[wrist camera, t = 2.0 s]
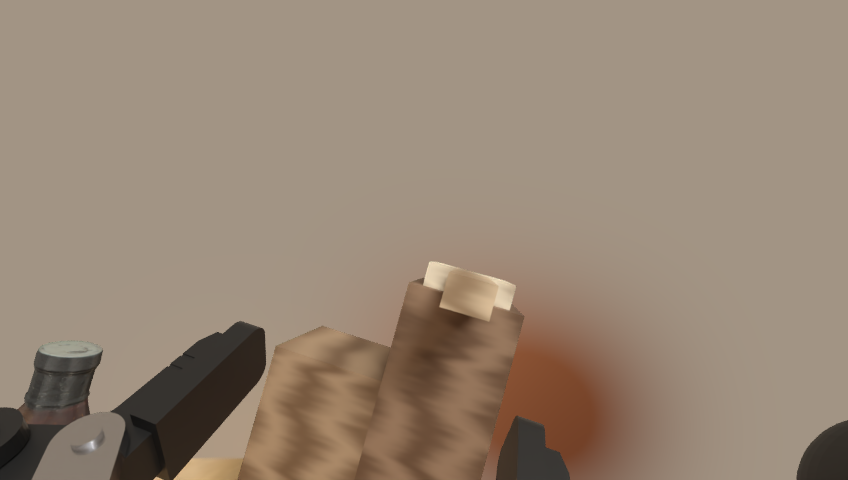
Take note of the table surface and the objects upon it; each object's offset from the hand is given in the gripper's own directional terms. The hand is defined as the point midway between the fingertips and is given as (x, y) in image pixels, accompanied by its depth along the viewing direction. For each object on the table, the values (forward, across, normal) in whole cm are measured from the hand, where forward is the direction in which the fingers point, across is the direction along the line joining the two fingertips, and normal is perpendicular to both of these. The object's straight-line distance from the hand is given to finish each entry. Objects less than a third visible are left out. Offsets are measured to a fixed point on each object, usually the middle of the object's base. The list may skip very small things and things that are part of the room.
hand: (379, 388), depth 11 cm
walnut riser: (+12, +4, +42) cm, 44 cm away
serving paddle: (+23, -2, +12) cm, 26 cm away
